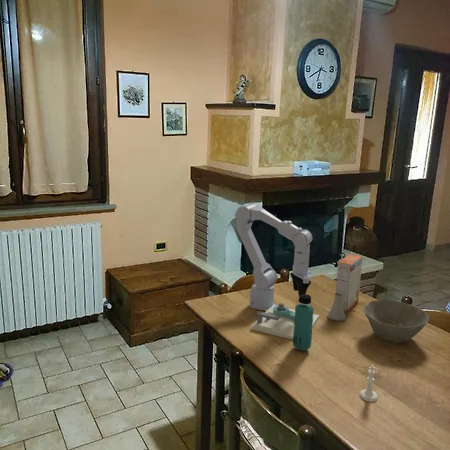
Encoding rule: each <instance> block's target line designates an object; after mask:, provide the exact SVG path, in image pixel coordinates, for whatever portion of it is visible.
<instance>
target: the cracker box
mask: <svg viewBox="0 0 450 450" xmlns="http://www.w3.org/2000/svg"><path fill="white" fill-rule="evenodd" d="M362 265H363V255H359V254H358V255H357V254H354V253H353V254H352V253H349V254H348V255H346V256H344V258H342V259H341V260H339V261H337V270H336V285H335V286H336V287H335V293H341V294H343V296H342V306H343V310H344V312H345V313H346V312H349V311H350V310H351V309H352V308H353V307H354V306H355V304H357V303H358V302H359V296H360V286H361V277H362V276H361V275H362V267H363V266H362Z"/></svg>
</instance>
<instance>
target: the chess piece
mask: <svg viewBox="0 0 450 450" xmlns="http://www.w3.org/2000/svg"><path fill="white" fill-rule="evenodd" d="M375 370H376V367H375V366H374V365H373V364H372V365H370V366H369V367H368V370H367V374H368V376H367V377H366V381H367V382H368V383H367V386H366V389H365V388H364V389H362V390H360V392H359V397H360V398H361V399H362V400H364V401H367V402H371V403H372V402H376V401H377V400H378V394H377V392H376V391H374V390H373V382H375V378H374V376H375V375H376V372H375Z"/></svg>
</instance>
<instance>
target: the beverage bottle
mask: <svg viewBox="0 0 450 450" xmlns="http://www.w3.org/2000/svg"><path fill="white" fill-rule="evenodd" d="M298 297H299V298H298V302H299V303H297V304H296V305H295V307H294V310H295V317H294V319H295V320H294V329H293V330H294V331H293V332H294V335H293V340H292V345H293V347H294V348H295V349H297V350H301V351H306V350H309V349H310V348H311V346H312V340H313V328H312V323H313V314H314V310H315V309H314V307H313V306H312V305H311V303H312V296H311V295H310V294H307V293H306V294H301V295H300V296H299V295H298Z"/></svg>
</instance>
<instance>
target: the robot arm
mask: <svg viewBox="0 0 450 450" xmlns="http://www.w3.org/2000/svg"><path fill="white" fill-rule="evenodd" d="M234 217H235V221H236V226H235V227H236V230H237V233H238V235H239V237H240V240H241V242H242V244H243V246H244V248H245V251H246V253H247V255H248V258H249V260H250V262H251V264H252V266H253V271H252V276H253V281H254V284H252V286H251V287H250V292H249V306H248V308H251V309H255V310H260V311H265V312H266V311H267V310H268V309H269V308H270V307H272V306H273V305H276V306H277V303H274V301H275V300H274V297H275V296H274V295H275V282H276V281H277V280H278V274H277V272H276V271H275V270H274V268H273V267H272V266H271V264H270V263H268V262H267V261H266V259H265V257H264V254H263V252H262V250H261V248H260V246H259V243H258V241H257V239H256V237H255V235H254V233H253V231H252V225H253V223H254V221H262V222H264V223H266V224H268V225H270V226H271V227H273V228H275V229H277V232H278V233H279V235H282V236H283V237H285V238H287V239H288V240H290V241H291V242H292V243H293V245H294V256H293V265H292V272H290V273H289V275H290V278H291V280H292V281H291V282H292V286H293V291H294V292H298V297H299V296H300V295H301V294H307V291H308V289H309V286H310V285H311V283H312V281H311V280H310V277H309V275H311V274H312V272H311V271H310V270H309V264H310V252H311V251H310V247H311V242H312V241H313V234H312V233H311V231H309V229H303V228H302V227H298V226H297V225H295V224H293V222H292V221H291V220H283V221H282V220H281V219H279V218H277V217H276V216H275V215H274V214H272V213H270V212H269V211H267V210H266V209H264V208H263V206H261V205H258V204H257V203H255V202H250V203H247V204H245V205H241V206H239V207H238V208H237V209H236V211H235V214H234Z"/></svg>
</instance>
